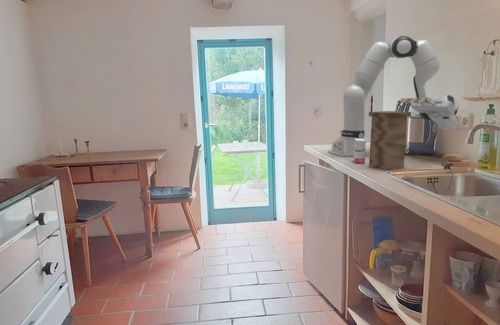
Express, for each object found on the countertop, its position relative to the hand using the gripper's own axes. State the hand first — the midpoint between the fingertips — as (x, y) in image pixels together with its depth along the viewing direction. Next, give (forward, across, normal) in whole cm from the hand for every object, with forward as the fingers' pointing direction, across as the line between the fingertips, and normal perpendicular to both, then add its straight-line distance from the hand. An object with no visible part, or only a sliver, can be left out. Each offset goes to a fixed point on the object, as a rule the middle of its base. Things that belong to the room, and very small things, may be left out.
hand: (424, 98), depth 172 cm
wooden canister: (+5, 0, +40) cm, 40 cm away
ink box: (+6, -16, +40) cm, 44 cm away
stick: (+5, 0, +5) cm, 7 cm away
